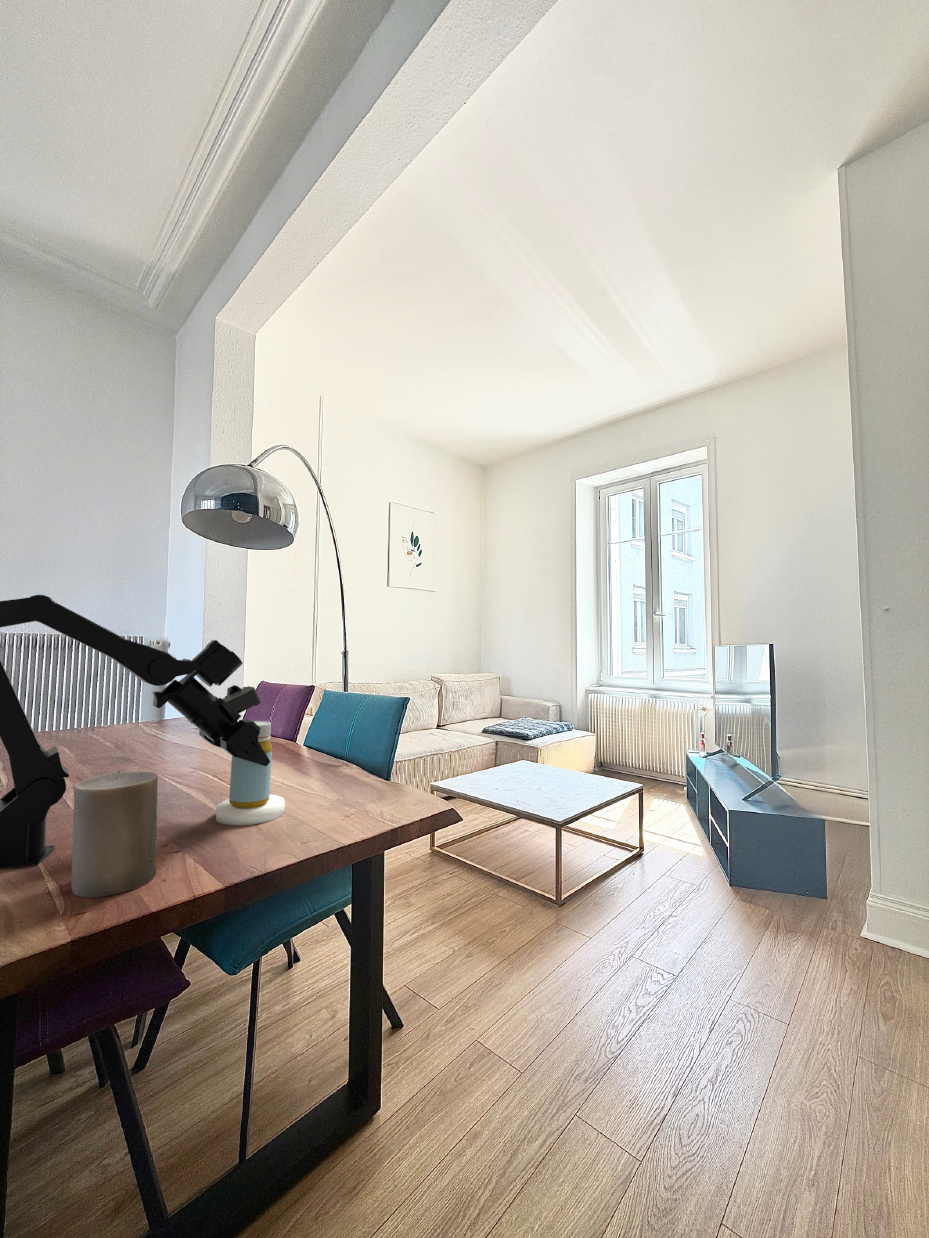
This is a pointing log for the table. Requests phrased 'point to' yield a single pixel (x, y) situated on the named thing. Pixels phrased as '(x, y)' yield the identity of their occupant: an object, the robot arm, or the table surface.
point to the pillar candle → (114, 833)
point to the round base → (250, 812)
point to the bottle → (252, 775)
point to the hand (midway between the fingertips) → (259, 759)
